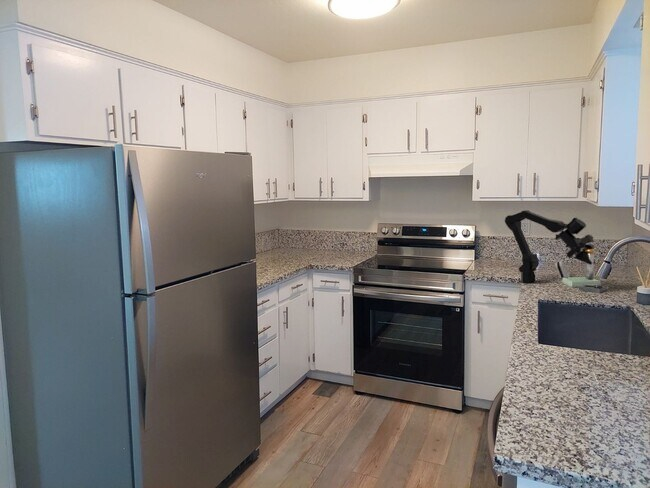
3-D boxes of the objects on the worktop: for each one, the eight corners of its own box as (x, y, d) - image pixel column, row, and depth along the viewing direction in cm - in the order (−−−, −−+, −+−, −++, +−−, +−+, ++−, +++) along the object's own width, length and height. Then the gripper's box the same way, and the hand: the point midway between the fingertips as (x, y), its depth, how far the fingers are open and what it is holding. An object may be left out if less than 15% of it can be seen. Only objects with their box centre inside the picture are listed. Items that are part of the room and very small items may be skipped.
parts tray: (572, 287, 238) (572, 281, 237) (562, 283, 250) (562, 277, 249) (600, 286, 236) (600, 281, 236) (589, 282, 248) (589, 277, 248)
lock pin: (587, 280, 227) (588, 250, 226) (583, 278, 231) (584, 249, 230) (595, 280, 227) (596, 250, 225) (591, 278, 231) (592, 249, 229)
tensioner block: (579, 290, 230) (579, 284, 230) (585, 288, 234) (585, 282, 234) (599, 292, 222) (599, 286, 222) (605, 290, 227) (605, 284, 226)
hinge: (569, 278, 261) (562, 262, 262) (560, 281, 264) (554, 264, 264) (570, 274, 276) (564, 258, 276) (562, 276, 278) (556, 260, 279)
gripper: (573, 230, 224) (597, 255, 216) (590, 228, 235) (613, 251, 228) (557, 246, 231) (579, 269, 223) (574, 242, 242) (596, 265, 235)
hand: (593, 263), depth 227 cm, fingers closed on lock pin, 3 cm apart
